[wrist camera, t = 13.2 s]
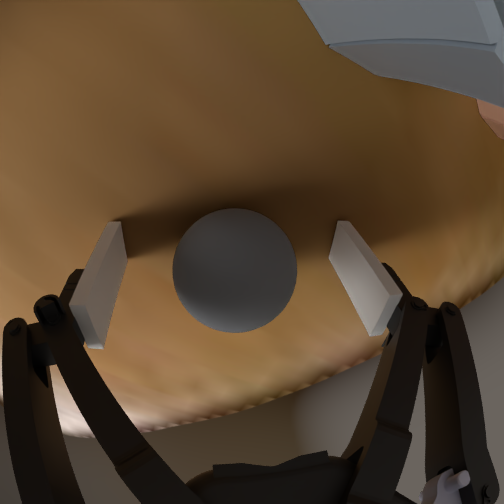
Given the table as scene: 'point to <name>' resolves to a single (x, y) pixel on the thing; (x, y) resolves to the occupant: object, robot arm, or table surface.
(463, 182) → the table surface
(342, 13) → the slate tube
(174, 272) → the charcoal ball
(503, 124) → the terracotta tube
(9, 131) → the table surface
